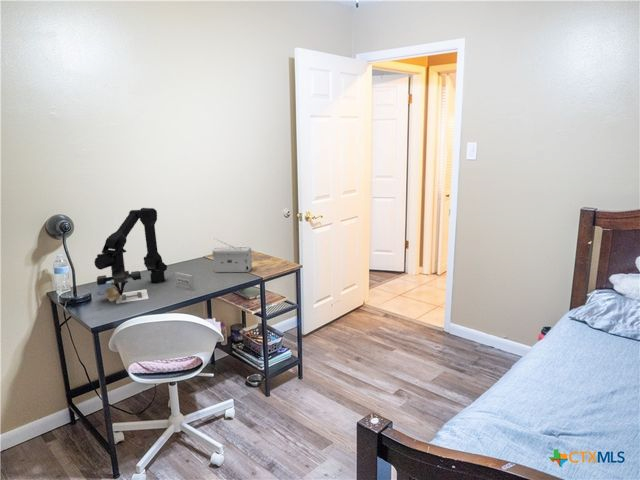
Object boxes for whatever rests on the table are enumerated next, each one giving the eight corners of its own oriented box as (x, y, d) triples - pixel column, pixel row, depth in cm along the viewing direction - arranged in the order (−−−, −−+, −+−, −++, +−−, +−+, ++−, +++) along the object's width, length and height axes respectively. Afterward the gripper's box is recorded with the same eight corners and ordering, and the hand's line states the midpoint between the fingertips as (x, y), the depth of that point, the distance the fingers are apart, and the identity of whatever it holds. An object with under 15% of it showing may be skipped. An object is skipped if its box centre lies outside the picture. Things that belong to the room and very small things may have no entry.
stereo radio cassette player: (252, 268, 256) (250, 234, 251) (250, 273, 248) (248, 238, 243) (216, 269, 256) (213, 235, 251) (212, 273, 248) (210, 238, 243)
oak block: (119, 292, 213) (113, 284, 211) (120, 296, 209) (114, 288, 207) (110, 299, 212) (103, 291, 209) (111, 302, 207) (104, 294, 205)
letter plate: (146, 290, 223) (146, 289, 223) (148, 299, 210) (148, 298, 210) (115, 294, 217) (115, 293, 217) (116, 304, 205) (116, 303, 204)
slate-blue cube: (113, 290, 223) (111, 278, 222) (113, 294, 218) (111, 282, 217) (99, 292, 221) (98, 280, 220) (99, 296, 216) (98, 284, 214)
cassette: (195, 289, 223) (193, 275, 221) (192, 291, 221) (191, 276, 219) (178, 285, 229) (176, 271, 227) (175, 287, 227) (174, 272, 225)
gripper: (95, 270, 196) (99, 304, 200) (140, 265, 204) (143, 297, 208) (95, 264, 206) (99, 296, 210) (138, 259, 214) (141, 290, 218)
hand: (121, 295), depth 211 cm, fingers closed
